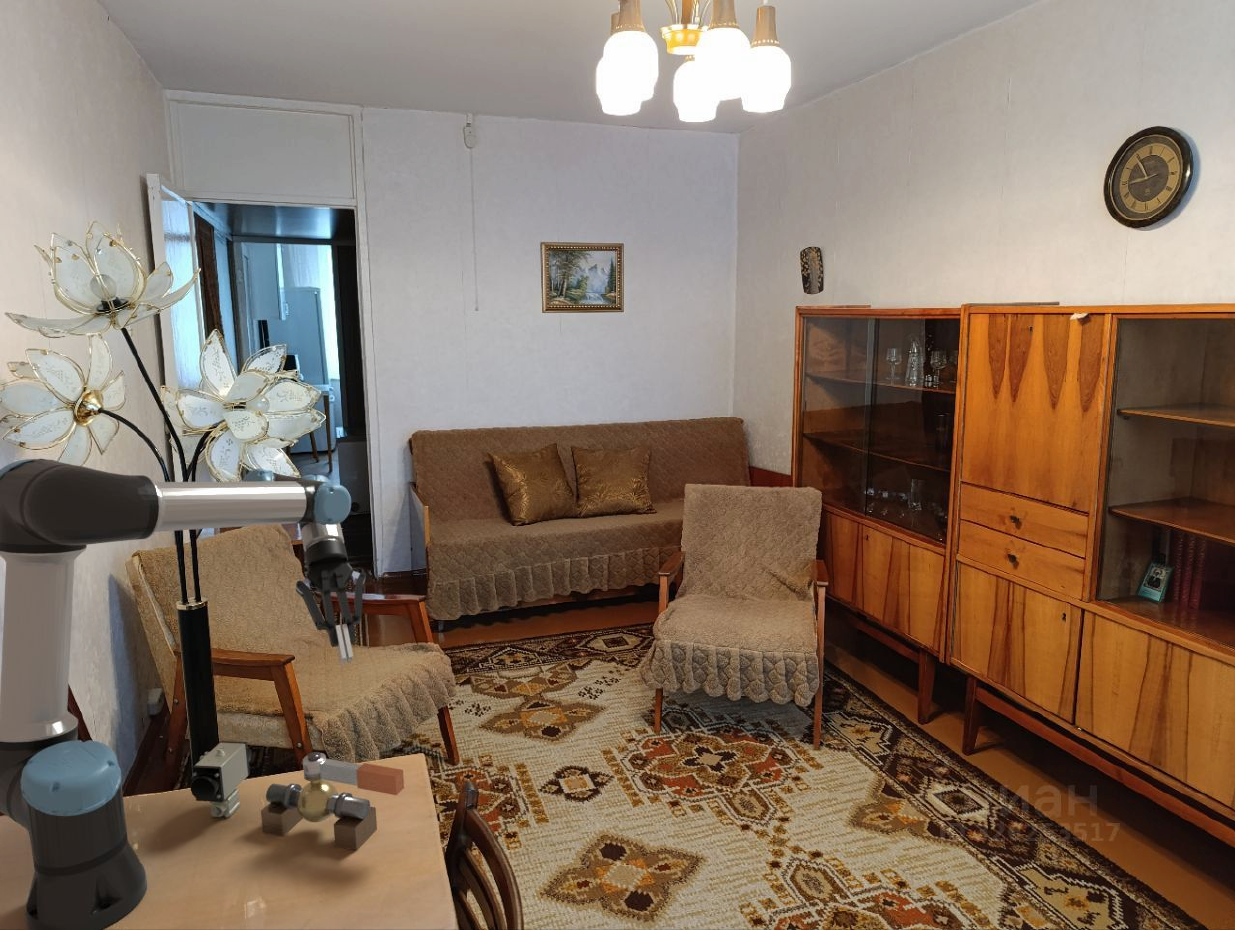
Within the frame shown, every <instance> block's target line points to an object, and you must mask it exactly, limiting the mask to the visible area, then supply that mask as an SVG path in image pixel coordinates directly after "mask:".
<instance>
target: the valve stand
mask: <svg viewBox="0 0 1235 930" xmlns="http://www.w3.org/2000/svg"><path fill="white" fill-rule="evenodd" d="M265 799H266V802H267V803H268V804H267V805H265V806H264V808H262V809H261V810H260V817H261V818H260V819H261V827H262V828H261V829H262V833H263V834H267V835H268V834H269V835H274V836H278V837H284V836H285V835H287V833H289V832H290V831H291V830H292V829H293V828H294V827H296V826H297V825H298V823H301V821H302V820H303V819H304V821H306V822H310V823H321V822H324V821H326V820H327V819H329V818H330V817H332V816H333V814H334V817H335V818H337V820H336V821H335V822H334V823H333V835H334V836H333V837H334V847H336V848H341V849H346V850H351V851H356V852H357V851H358V850H359V849H360V848H361V847H362V846H363V845H364V844H365V843H366V841H367V840H368V839H369V838H370V837H371V836H372V835H373V834H374V833H375V832H376V831H377V829H378V824H377V822H378V821H377V809H376V806H371V801H370V800H369V799H366V798H360V797H354V796H353V794H352V793H350V792H345V791H344V792H341V793H338V789H337V788H336V787H335V786H334V784H332V783H331V781H330V782H329V781H328V780H323V779H320V780H316V781H309V782H307V784H305V785H304V786H303V787H302V785H301V784H298V783H290V784H288V785H284V784H279V783H272V784H270V786H269V787H268V788H267V790H266V794H265Z"/></svg>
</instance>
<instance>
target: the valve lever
mask: <svg viewBox="0 0 1235 930" xmlns="http://www.w3.org/2000/svg"><path fill="white" fill-rule="evenodd" d="M302 766H303V778H304V780H305V781H307V782H310V781H316V780H320V779H322V780H325V781H328V782H329V781H330V782H335V783H340V784H346V785H351V786H356V787H357V789H359V790H367V791H371V792H375V793H381V794H386V795H387V794H388V795H391V796H392V795H393V796H398V795H399V794H400V793H401V792H402V791H403V789H405V782H404V770H403V769H400V768H394V767H390V766H383V765H377V764H371V763H365V762H364V763H362V764H359V763H354V762H353V763H352V762H348V761H341V760H336V759H330V758H327V756H326V754H325V753H322V752H319V751H313V752H310V753H308V754H307V755H306V756H304V758H302Z"/></svg>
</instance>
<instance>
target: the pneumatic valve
mask: <svg viewBox="0 0 1235 930" xmlns="http://www.w3.org/2000/svg"><path fill="white" fill-rule="evenodd" d="M251 759H252V751H251V749H250V748H249V746H248V742H247V741H234V740H233V741H231V740H230V741H229V740H228V741H227V740H221V741H220V742H219V743H218V744H217V745H216V746H215V747H213V749H211V751H205V752H204V755H201V756H199V761H198V762H197V763H196V764H195V765H194V766H193V767H192V776H191V777H190V778H189V779H190V792H191V795H192V796H193V797H194V798H195V800H196V801H197V802H209V803H210V805H211V809H210V812H211V817H214V818H220V817H225V818H230V817H231V816H232V815H233V814H234V813H235V812H236V811H237V810H238V809H239V808H240V806H241V803H240V799H239V798H240V791H239V789H238V788H237V787H239V785H240V784H241V783H242V782H243V781H245V780H246V778H247V777H248V776H249V775H250V774H251V772H250V763H249V762H250V761H251Z"/></svg>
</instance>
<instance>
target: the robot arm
mask: <svg viewBox="0 0 1235 930" xmlns="http://www.w3.org/2000/svg"><path fill="white" fill-rule="evenodd" d="M351 508H352V497H351V494H350V493H349V491H348V489H347V488H346V487H345V486H343V485H342V484H337V483H335V482H333V481H330V479H329V478H328V477H326V476H325V475H322V474H316V475H314V474H307V475H304V476H301V477H297V476H293V475H292V476H291V475H284V474H279V473H276V472H275V471H273V470H266V469H263V468H254V469H252V470H250V471H249V472H248V473H247V474H246V475H245V476H244V478H243V480H242V481H154V479H153V478H152V477H149V476H148V475H142V474H141V475H133V474H132V475H130V474H119V473H114V472H108V471H103V470H98V469H96V468H95V469H94V468H89V467H86V466H82V465H75V464H69V463H64V462H61V461H58V460H55V459H48V458H46V459H45V458H26V459H20V460H17V461H13V462H11V463H8V464H6V465H4V467H2V468H1V469H0V557H1V558H2V559H4V562H5V578H4V579H5V581H4V583H5V584H4V602H3V605H4V607H3V627H2V629H3V630H2V647H1V648H2V649H1V671H0V673H1V675H0V813H2V814H3V815H4V816H6V817H7V818H10V819H11V820H12V821H14V822H15V823H17V824H19V826H22V828H24V829H25V830H26V831H27V833H28V835H29V841H30V848H31V853H32V859H33V866H34V873H33V876H32V880H31V883H30V884H31V885H30V889H29V892H28V896H27V900H26V905H25V919H26V925H27V929H28V930H102V929H104V928H106V927H108V926H111V925H112V924H114V923H116V922H118V921H119V920H120V919H122V918H124V917H125V916H126V915H128V914H129V913H131V911H132V910H134V909H135V908H136V907H137V906H138V905H139V904H140V903H141V901H142V900H143V898H144V897H145V895H146V893H147V889H148V882H147V874H146V869H145V867H144V865H143V864H142V862H141V860H140V858H139V857H138V855H137V854H136V851H135V850H134V849H133V847H132V846H131V844H130V841H129V839H128V838H129V837H128V832H127V831H128V829H127V823H126V822H127V821H126V812H125V805H124V804H125V803H124V795H123V787H122V770H121V767H120V765H119V762H118V757H117V755H116V752H115V750H113V749H112V748H111V747H110V746H108V745H107V744H106V743H104V742H100V741H96V740H90V739H89V740H85V741H84V742H83V741H82V740H81V739H80V740H79V739H78V734H79V730H78V729H79V719H78V717H76V716H75V715H74V714H72V713H71V712H70V711H68V703H69V702H68V699H69V681H70V680H69V679H70V657H71V641H72V640H71V639H72V616H73V597H74V576H75V575H74V574H75V561H76V559H77V558H78V557H79V556H80V555H81V554H83V553H84V552H85V551H87V547H88V546H87V545H96V544H104V543H114V542H125V541H126V542H127V541H134V540H135V541H136V540H137V541H139V540H146V539H147V540H148V539H150V538H151V536H153V535H155V533H156V532H171V531H175V532H176V531H188V530H189V531H190V530H205V529H206V530H207V529H220V528H222V529H223V528H238V527H240V528H241V527H256V526H257V527H258V526H268V525H269V526H270V525H271V526H273V525H287V524H298V525H299V530H300V531H299V532H300V535H301V539H302V545H303V550H304V557H305V563H306V567H307V573H306V577H305V578H304V579H303V580H298V581H297V582H296V584H295V592H296V593H297V594H298V595H299V596H300V597H301V598H302V599H303V601H304V604H305V606H306V609H307V610H308V613H309V615H310V617H311V619H312V621H313V624H314V627H316V630H317V631H326V632H327V633H328V637H329V642H330V643H329V644H330V646H331V647H332V648H334V647H337V651H338V653H337V654H338V657H339V662H340V665H341V666H342V665H345V664H346V663H347V664H351V663H353V659H354V653H353V649H352V648H353V647H352V644H355V641H356V633H355V628H354V626H355V625H360V623H361V620H362V614H363V588H364V584H365V581H366V578H367V573H366V572H365V571H361V572H358V571H355V570H354V569H353V567H352V566H351V565H350V563H349V557H348V553H347V549H346V544H345V539H344V535H343V530H342V526H341V523H342V522H344V521H345V519H347V518H348V516H349V514H350V511H351ZM351 579H352V583H353V584H354V585H355V588H354V600H353V601H354V602H353V604H354V605H353V615H352V613H351V609H350V605H349V600H348V595H347V590H346V587H347V586H348V584H349V581H350V580H351ZM311 586H312V587H313V588H314V589H316V590H317V591H318V592H319V593H321V600H322V605H323V611H324V615H325V619H324V617H323V614H322V613H321V610H320V608H319V606H318V603H317V602H316V599H315V597H314V596H313V592H312V591H311ZM332 593H335V594H336V597H337V600H338V605H339V609H340V613H341V617H342V618H341V619H342V622H343V624H342V626H341V624H338V625H337V624H336V619H335V612H334V607H333V601H332ZM346 661H347V662H346Z"/></svg>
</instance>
